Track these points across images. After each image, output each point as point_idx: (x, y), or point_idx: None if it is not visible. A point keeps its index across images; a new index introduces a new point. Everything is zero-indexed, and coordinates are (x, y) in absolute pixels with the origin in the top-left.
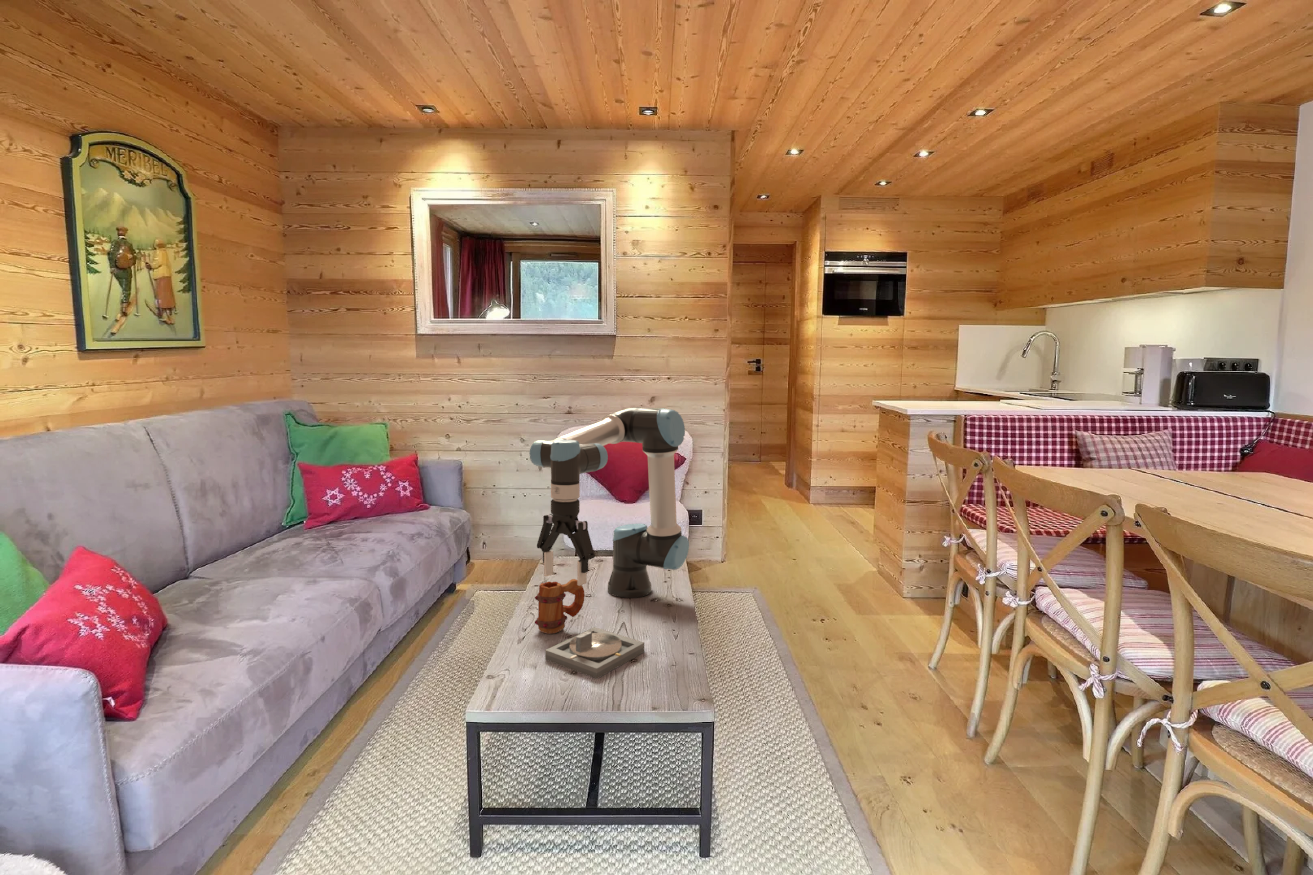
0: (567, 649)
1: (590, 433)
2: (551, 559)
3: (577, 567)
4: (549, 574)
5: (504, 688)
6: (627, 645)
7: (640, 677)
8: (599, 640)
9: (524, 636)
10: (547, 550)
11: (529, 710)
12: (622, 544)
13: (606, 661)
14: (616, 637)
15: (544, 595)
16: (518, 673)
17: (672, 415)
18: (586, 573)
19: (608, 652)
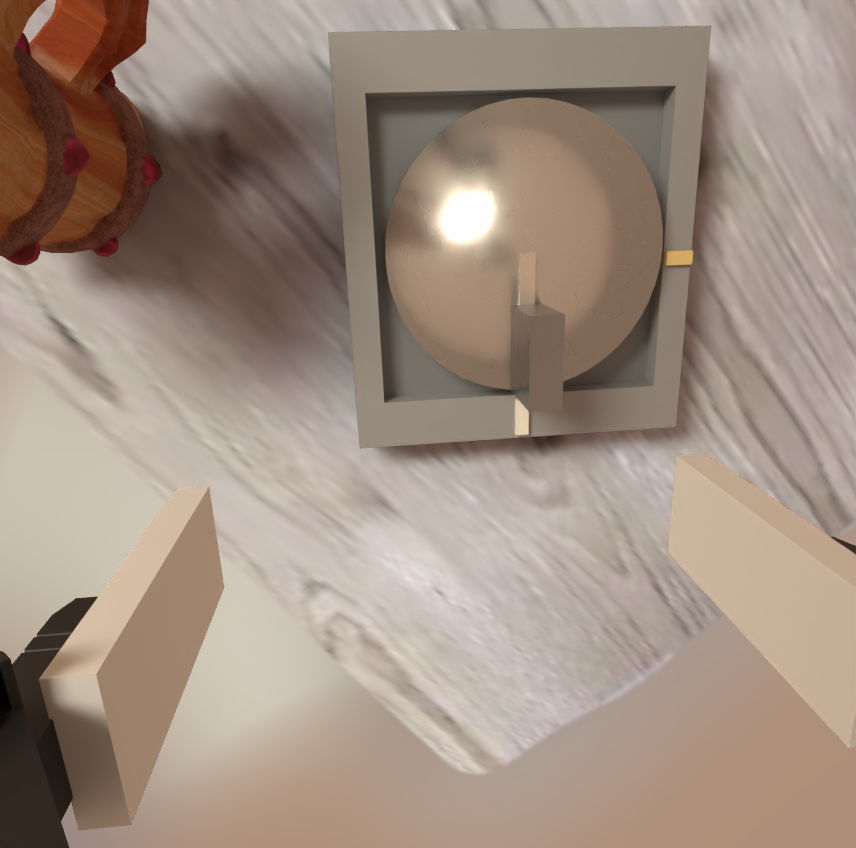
0: (398, 335)
1: None
2: (156, 618)
3: (780, 673)
4: (215, 547)
5: (430, 672)
6: (618, 90)
7: (800, 285)
8: (520, 212)
9: (54, 321)
10: (53, 781)
11: (606, 698)
12: None
13: (671, 348)
14: (570, 110)
15: None
16: (375, 578)
17: None
18: (770, 498)
19: (649, 296)
